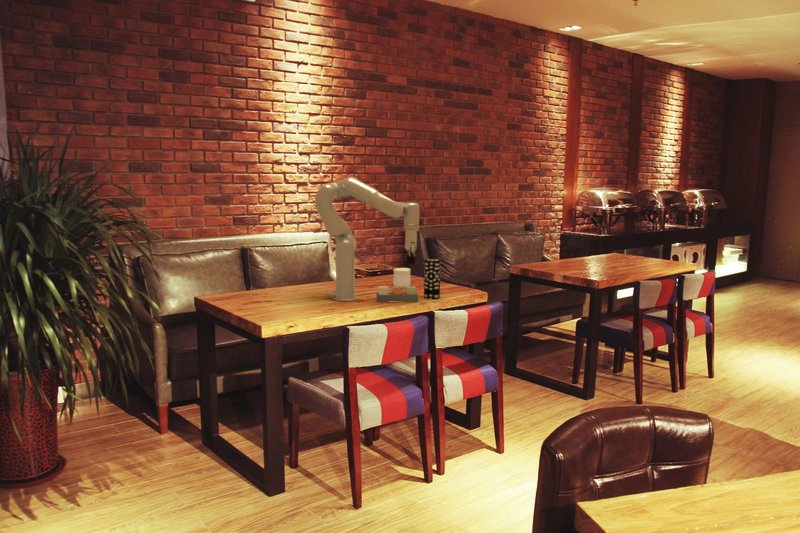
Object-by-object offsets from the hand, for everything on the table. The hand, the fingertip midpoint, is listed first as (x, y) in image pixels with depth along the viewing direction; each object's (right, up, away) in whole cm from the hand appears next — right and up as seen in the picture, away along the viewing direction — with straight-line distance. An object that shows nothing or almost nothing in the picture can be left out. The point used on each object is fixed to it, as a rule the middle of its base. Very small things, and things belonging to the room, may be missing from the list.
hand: (411, 263), depth 326 cm
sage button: (0, -17, +3) cm, 17 cm away
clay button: (-7, -17, +2) cm, 19 cm away
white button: (-14, -17, +1) cm, 22 cm away
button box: (-7, -19, +2) cm, 21 cm away
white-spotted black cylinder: (+11, -18, +10) cm, 24 cm away
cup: (-4, -13, +42) cm, 45 cm away
